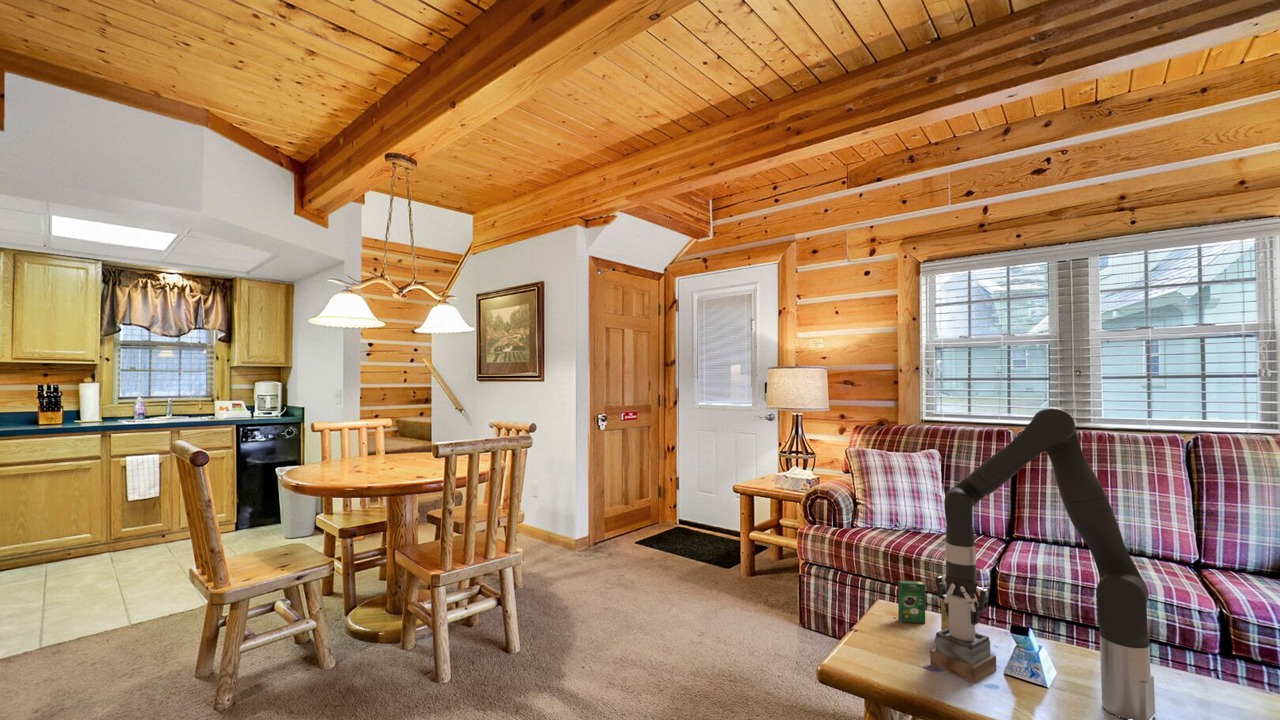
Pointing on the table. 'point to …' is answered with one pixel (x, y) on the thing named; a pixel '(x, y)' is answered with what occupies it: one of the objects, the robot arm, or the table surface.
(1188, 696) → the table surface
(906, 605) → the coffee box
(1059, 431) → the robot arm
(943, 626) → the sauce bottle
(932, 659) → the tower base
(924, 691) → the table surface
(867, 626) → the table surface
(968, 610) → the beverage can
